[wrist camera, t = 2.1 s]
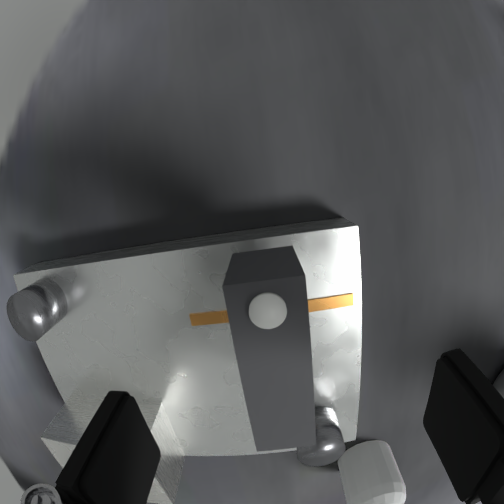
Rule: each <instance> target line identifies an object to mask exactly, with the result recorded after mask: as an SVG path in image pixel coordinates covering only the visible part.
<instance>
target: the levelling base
mask: <svg viewBox="0 0 504 504" xmlns="http://www.w3.org/2000/svg"><path fill="white" fill-rule="evenodd" d="M284 246H293V248H294V250H295V252H296V255H297V257H298V259H299V262H300V264H301V266H302V268H303V271H304V273H305V277H306V287H307V299H308V310H309V323H310V336H311V350H312V366H313V383H314V403H315V428H316V445H311V446H304V447H297V448H289V449H280V450H270V451H258V452H257V450H256V446H255V442H254V437H253V433H252V428H251V424H250V420H249V415H248V411H247V406H246V402H245V397H244V392H243V388H242V383H241V378H240V374H239V369H238V364H237V359H236V354H235V349H234V344H233V339H232V334H231V329H230V324H229V319H228V314H227V309H226V303H225V298H224V293H223V287H222V285H223V282H224V279H225V275H226V272H227V269H228V266H229V263H230V260H231V257H232V253H239V252H247V251H254V250H262V249H269V248H277V247H284ZM13 276H14V280H15V283H16V286H17V290H18V292H17V293H16V294H14V295H12V296H11V297H10V298H9V300H8V302H7V314H8V318H9V320H10V323H11V325H12V326H13V328H14V329H15V331H16V332H17V333H18V334H19V335H20V336H21V337H22V338H24V339H25V340H28V341H31V342H35V341H36V343H37V345H38V347H39V350H40V352H41V354H42V357H43V359H44V361H45V363H46V366H47V368H48V370H49V372H50V374H51V376H52V378H53V380H54V383H55V385H56V387H57V389H58V390H59V392H60V394H61V396H62V398H63V400H64V402H65V404H64V405H63V407H62V408H61V409H60V411H59V412H58V413H57V415H56V416H55V418H54V419H53V420H52V422H51V423H50V425H49V426H48V427H47V429H46V430H45V432H44V433H43V434H42V436H41V439H42V440H43V442H44V443H45V444H46V446H47V447H48V449H49V450H50V452H51V453H52V454H53V456H54V457H55V458H56V460H57V461H58V462H59V464H60V465H61V466H62V468H64V466H65V464H66V463H67V461H68V459H69V457H70V456H71V454H72V452H73V450H74V449H75V447H76V445H77V443H78V442H79V440H80V438H81V437H82V435H83V433H84V431H85V430H86V428H87V426H88V425H89V423H90V421H91V420H92V418H93V416H94V415H95V413H96V411H97V410H98V408H99V406H100V405H101V403H102V401H103V400H104V398H105V396H106V395H107V393H108V392H109V391H126V392H128V393H129V394H130V396H133V397H134V398H135V400H136V402H137V404H138V406H139V409H140V411H141V413H142V415H143V417H144V419H145V421H146V423H147V425H148V427H149V429H150V431H151V433H152V435H153V437H154V439H155V441H156V443H157V445H158V447H159V449H160V452H161V458H160V461H159V464H158V468H157V471H156V474H155V477H154V480H153V484H152V487H151V490H150V493H149V496H148V500H147V502H151V503H159V504H174V502H175V497H176V493H177V489H178V485H179V481H180V476H181V472H182V468H183V464H184V460H185V456H231V455H251V454H265V453H276V452H285V451H294V450H297V456H298V460H299V461H300V462H301V463H303V464H305V465H308V466H324V465H328V464H330V463H333V462H335V461H336V460H338V459H339V458H340V457H341V456H342V455H343V454H344V452H345V449H346V447H345V443H344V442H348V441H353V440H356V431H357V420H358V408H359V393H360V374H361V341H362V299H361V266H360V246H359V231H358V225H356V224H354V223H352V222H351V221H349V220H347V219H345V218H344V217H342V218H334V219H326V220H318V221H310V222H302V223H295V224H287V225H279V226H272V227H264V228H257V229H250V230H243V231H235V232H228V233H221V234H214V235H207V236H201V237H194V238H187V239H180V240H174V241H167V242H161V243H154V244H148V245H141V246H135V247H129V248H122V249H116V250H110V251H104V252H98V253H92V254H86V255H80V256H74V257H68V258H63V259H57V260H51V261H45V262H40V263H36V264H34V265H32V266H30V267H28V268H26V269H24V270H22V271H20V272H18V273H16V274H14V275H13Z"/></svg>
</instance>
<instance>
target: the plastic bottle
mask: <svg viewBox="0 0 504 504" xmlns="http://www.w3.org/2000/svg"><path fill="white" fill-rule="evenodd" d="M493 386H494V387H495V388H496V390H497V391H498V392H499V393H500V394H501V396H502V397H503V398H504V369H503V370H502V372H501V373H500V374H499V375H498V377H497V378H496V380H495V382H494V384H493Z"/></svg>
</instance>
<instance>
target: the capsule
mask: <svg viewBox="0 0 504 504" xmlns="http://www.w3.org/2000/svg"><path fill="white" fill-rule="evenodd" d="M337 463H338V467H339V471H340V476H341V480H342V485H343V489H344V494H345V498H346V503H347V504H404V502H405V500H406V488H405V484H404V481H403V479H402V476H401V473H400V471H399V468H398V466H397V463H396V461H395V458H394V456H393V453H392V451H391V449H390V446H389V445H388V444H387V443H386V442H385V441H380V440H372V441H366V442H363V443H360V444H356V445H355V446H353V447H351V448H349V449H348V450H346V451H345V452H344V454H343V455H342V456H341V457H340V458H339V460H338V462H337Z"/></svg>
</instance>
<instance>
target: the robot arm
mask: <svg viewBox="0 0 504 504" xmlns="http://www.w3.org/2000/svg"><path fill="white" fill-rule="evenodd" d="M423 424H424V428H425V430H426V432H427V434H428V436H429V438H430V439H431V441H432V443H433V445H434V447H435V449H436V451H437V453H438V455H439V457H440V459H441V461H442V464H443V466H444V468H445V470H446V472H447V474H448V476H449V478H450V480H451V482H452V485H453V487H454V489H455V491H456V493H457V495H458V498H459V499H460V500H461V501H462V502H464V501H465V503H466V504H475V503H477V502H479V501H481V502H482V504H504V398H503V397H502V396H501V394H500V393H499V392H498V391H497V390H496V388H495V387H494V386H493V385H492V384H491V383H490V381H489V380H488V379H487V378H486V377H485V376H484V375H483V373H482V372H481V371H480V370H479V369H478V368H477V367H476V365H475V364H474V363H473V362H472V361H471V360H470V359H469V358H468V357H467V355H466V354H465V353H464V352H463V351H462V350H461V349H455V350H451V351H448V352H445V353H443V354H442V355H441V358H440V359H438V360H437V362H436V367H435V372H434V377H433V382H432V386H431V390H430V395H429V399H428V403H427V407H426V410H425V414H424V418H423ZM160 458H161V452H160V449H159V447H158V445H157V443H156V441H155V439H154V437H153V435H152V433H151V431H150V429H149V427H148V425H147V423H146V421H145V419H144V417H143V415H142V413H141V411H140V409H139V406H138V404H137V402H136V400H135V398H134V397H133V396H130V394H129V393H128V392H126V391H109V392H108V393H107V395H106V396H105V398H104V400H103V401H102V403H101V405H100V406H99V408H98V410H97V411H96V413H95V415H94V416H93V418H92V420H91V421H90V423H89V425H88V426H87V428H86V430H85V431H84V433H83V435H82V437H81V438H80V440H79V442H78V443H77V445H76V447H75V449H74V450H73V452H72V454H71V456H70V457H69V459H68V461H67V463H66V464H65V466H64V468H63V470H62V471H61V473H60V475H59V477H58V479H57V481H56V482H55V483H56V484H57V485H56V487H55V488H54V487H53V486H50V485H48V484H42V483H41V484H35V485H33V486H31V487H29V488H28V489H27V490H26V491H25V492H24V494H23V495H22V498H21V504H146V503H147V500H148V496H149V493H150V490H151V487H152V484H153V480H154V477H155V474H156V471H157V468H158V464H159V461H160Z"/></svg>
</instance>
